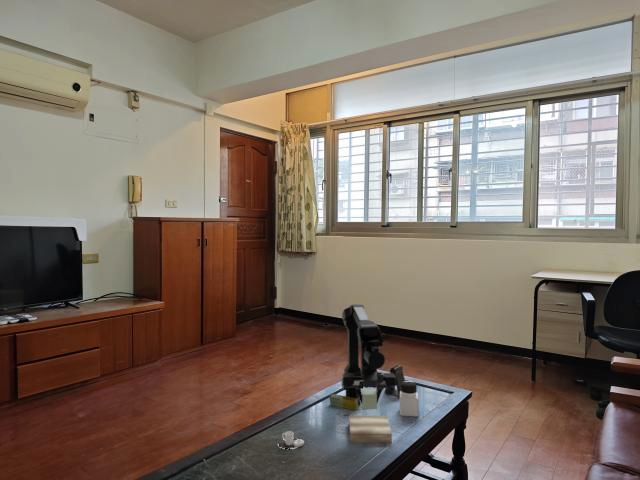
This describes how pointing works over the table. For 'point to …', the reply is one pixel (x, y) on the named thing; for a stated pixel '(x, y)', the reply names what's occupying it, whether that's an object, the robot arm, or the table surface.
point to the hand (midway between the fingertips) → (369, 403)
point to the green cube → (369, 399)
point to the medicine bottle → (408, 399)
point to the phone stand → (399, 379)
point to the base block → (369, 429)
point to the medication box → (344, 401)
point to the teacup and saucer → (291, 440)
